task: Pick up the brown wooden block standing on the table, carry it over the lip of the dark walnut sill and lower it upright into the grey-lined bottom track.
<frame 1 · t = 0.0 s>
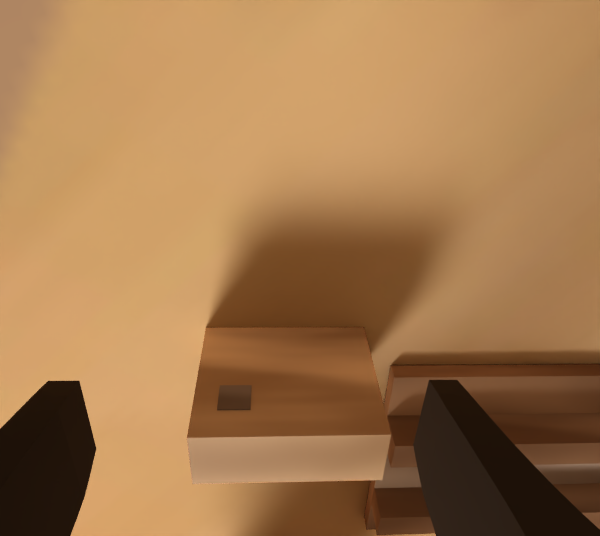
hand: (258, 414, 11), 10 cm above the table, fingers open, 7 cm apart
walnut sill track: (503, 447, 27), on the table
brown wooden block: (285, 348, 23), on the table
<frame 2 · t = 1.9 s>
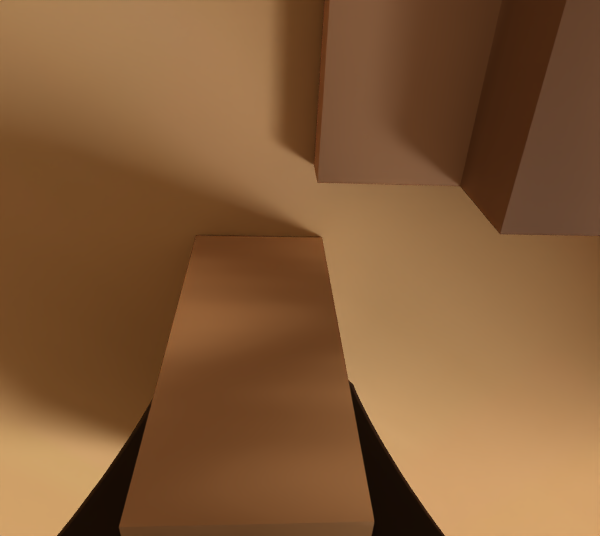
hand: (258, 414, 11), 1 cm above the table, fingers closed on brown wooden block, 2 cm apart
brown wooden block: (259, 367, 12), on the table, touching gripper
when the fingers open (3 cm above the table, at t = 5.2 s): brown wooden block stays where it is, resting on walnut sill track.
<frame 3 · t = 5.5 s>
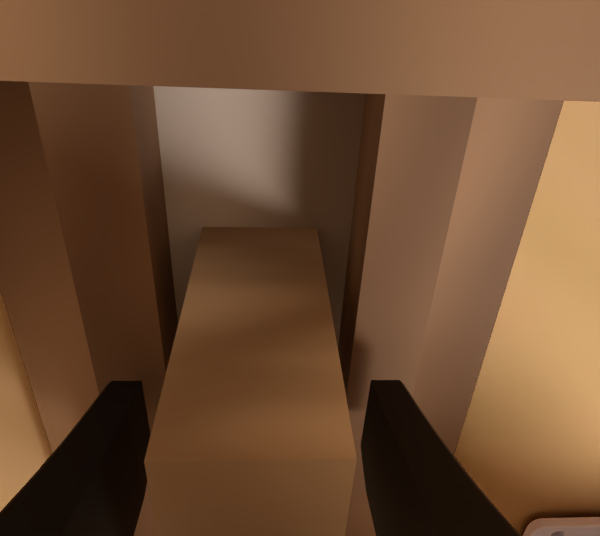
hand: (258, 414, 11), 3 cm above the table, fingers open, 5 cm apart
walnut sill track: (260, 318, 13), on the table
brown wooden block: (260, 350, 13), point 1 cm above the table, touching walnut sill track
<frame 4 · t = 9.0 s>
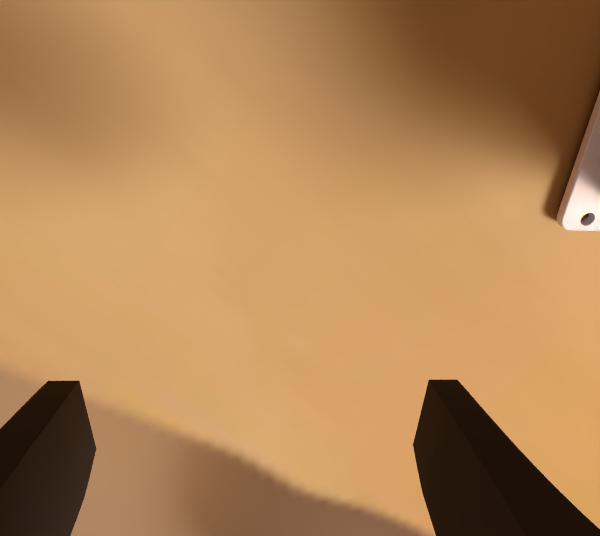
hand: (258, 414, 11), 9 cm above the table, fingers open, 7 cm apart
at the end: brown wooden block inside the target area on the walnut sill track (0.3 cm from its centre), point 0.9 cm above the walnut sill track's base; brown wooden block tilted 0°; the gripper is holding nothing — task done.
